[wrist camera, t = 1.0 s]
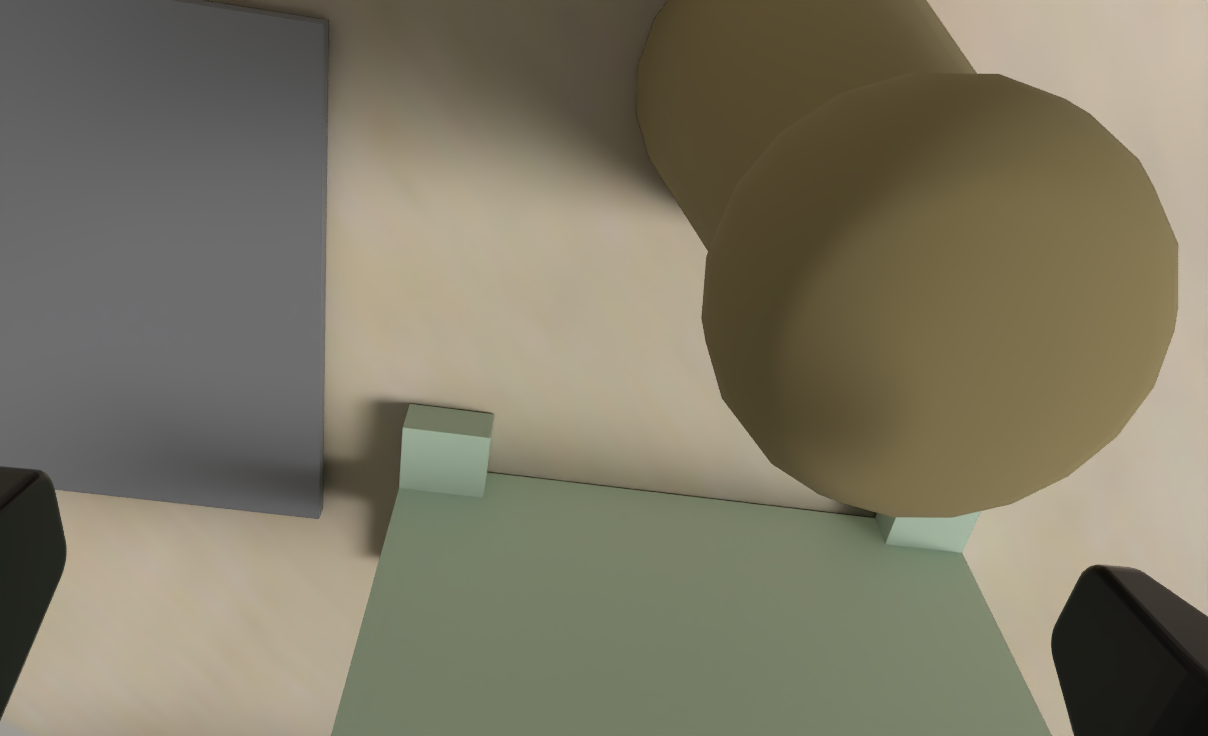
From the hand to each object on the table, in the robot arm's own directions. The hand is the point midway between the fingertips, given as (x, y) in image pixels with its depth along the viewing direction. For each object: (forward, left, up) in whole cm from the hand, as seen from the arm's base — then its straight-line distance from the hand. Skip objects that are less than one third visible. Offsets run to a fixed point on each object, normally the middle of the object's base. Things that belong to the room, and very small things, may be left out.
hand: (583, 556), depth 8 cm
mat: (-5, +11, -13) cm, 18 cm away
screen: (-10, -4, -13) cm, 17 cm away
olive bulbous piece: (+1, -4, -13) cm, 14 cm away
